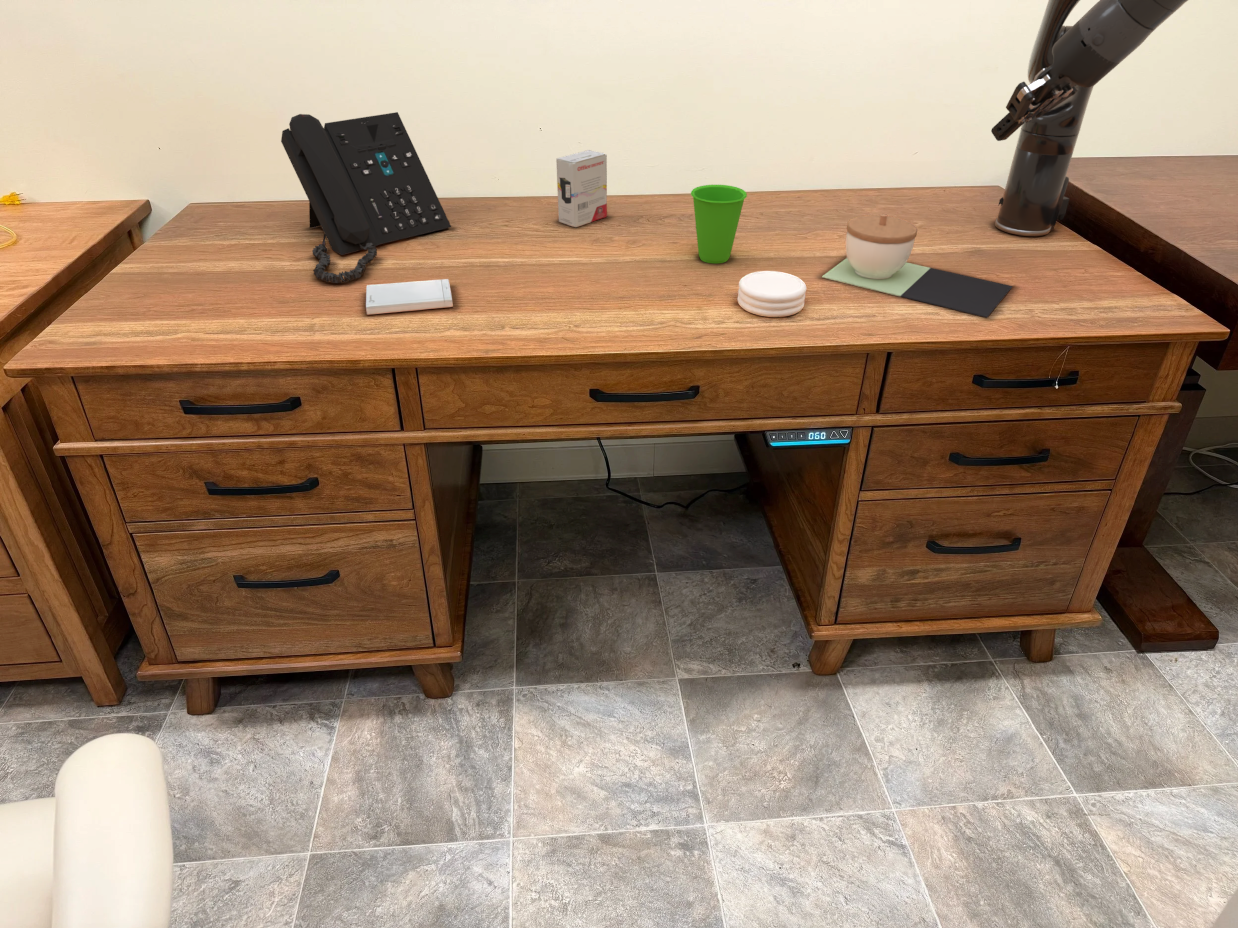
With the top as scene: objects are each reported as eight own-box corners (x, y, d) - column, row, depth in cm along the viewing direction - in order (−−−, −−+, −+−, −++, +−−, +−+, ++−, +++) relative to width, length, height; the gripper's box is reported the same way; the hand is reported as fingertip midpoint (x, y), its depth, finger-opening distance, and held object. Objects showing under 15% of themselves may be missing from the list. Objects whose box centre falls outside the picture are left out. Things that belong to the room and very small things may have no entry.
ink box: (590, 211, 161) (589, 148, 154) (608, 217, 158) (608, 153, 152) (557, 222, 156) (555, 157, 149) (575, 228, 153) (573, 162, 146)
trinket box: (911, 265, 138) (923, 209, 133) (903, 289, 130) (916, 230, 125) (846, 256, 142) (855, 201, 136) (834, 279, 133) (843, 221, 128)
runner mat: (1012, 287, 131) (1012, 286, 131) (987, 318, 122) (987, 316, 122) (855, 252, 144) (855, 251, 144) (821, 277, 134) (821, 276, 134)
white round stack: (731, 292, 129) (732, 270, 127) (794, 290, 130) (796, 268, 128) (744, 319, 121) (747, 297, 119) (811, 317, 122) (815, 295, 120)
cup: (738, 270, 137) (744, 203, 131) (683, 265, 138) (687, 199, 132) (743, 250, 144) (749, 186, 138) (690, 246, 146) (694, 183, 139)
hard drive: (365, 306, 121) (452, 297, 123) (366, 284, 127) (448, 276, 130) (367, 316, 122) (453, 308, 124) (367, 294, 128) (449, 286, 131)
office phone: (328, 289, 130) (300, 155, 118) (256, 241, 147) (226, 120, 136) (486, 245, 146) (475, 124, 134) (404, 206, 163) (388, 96, 152)
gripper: (1112, 14, 109) (1008, 111, 124) (1060, 16, 102) (956, 119, 117) (1145, 58, 108) (1035, 152, 122) (1094, 63, 101) (984, 162, 115)
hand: (997, 135), depth 120 cm, fingers closed
